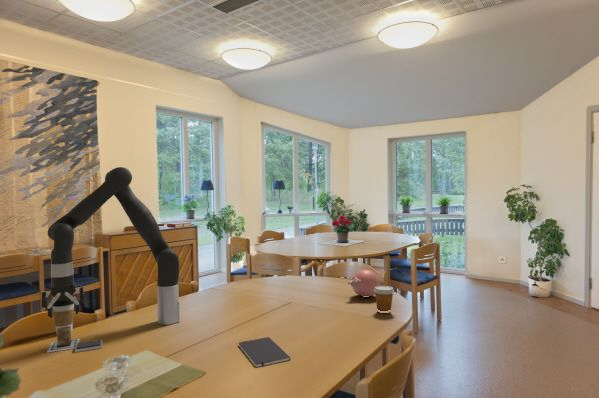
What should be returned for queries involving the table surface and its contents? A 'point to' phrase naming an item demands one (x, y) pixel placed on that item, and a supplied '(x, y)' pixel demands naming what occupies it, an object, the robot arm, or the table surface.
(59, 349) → the card
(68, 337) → the stamp
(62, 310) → the coffee cup
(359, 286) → the pink rounded piece
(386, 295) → the disposable coffee cup
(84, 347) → the inkpad
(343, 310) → the table surface
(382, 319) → the table surface
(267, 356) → the notebook
